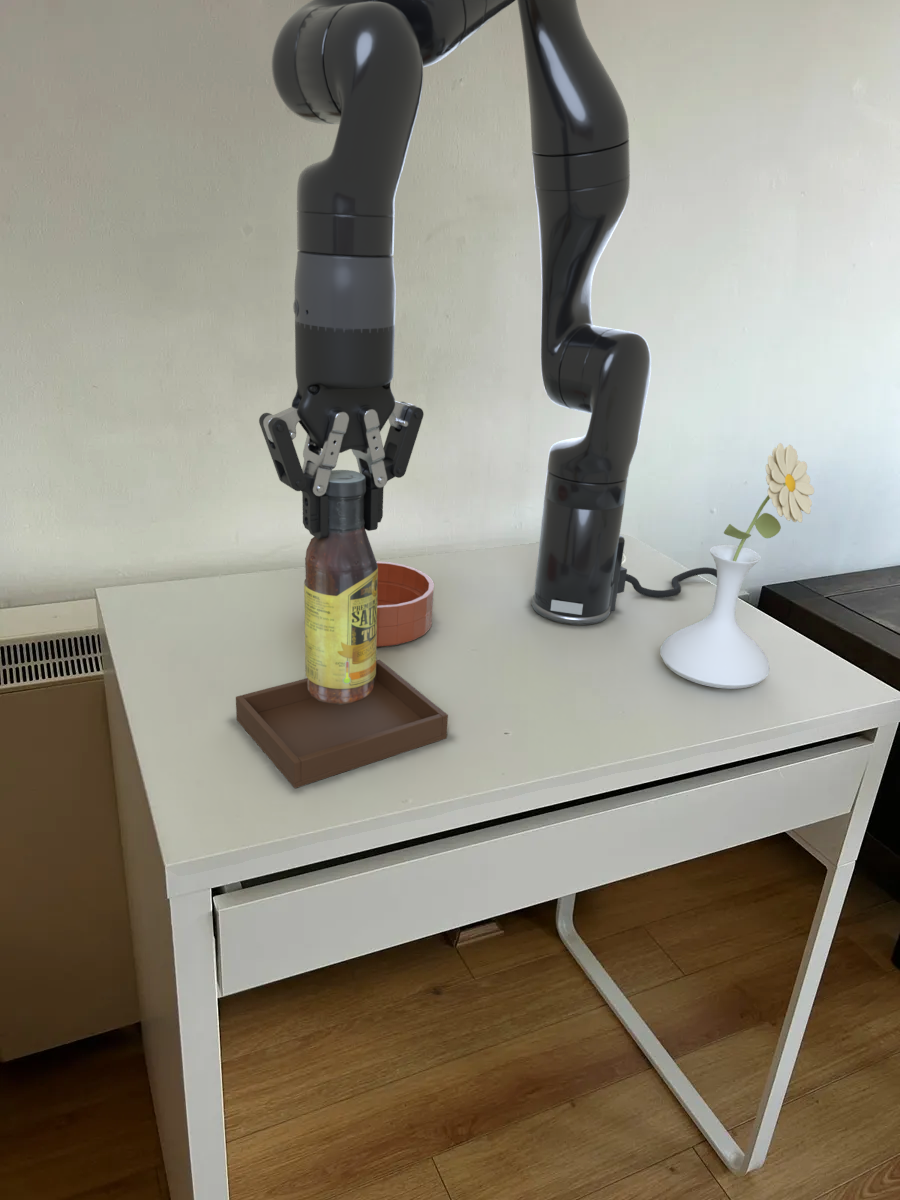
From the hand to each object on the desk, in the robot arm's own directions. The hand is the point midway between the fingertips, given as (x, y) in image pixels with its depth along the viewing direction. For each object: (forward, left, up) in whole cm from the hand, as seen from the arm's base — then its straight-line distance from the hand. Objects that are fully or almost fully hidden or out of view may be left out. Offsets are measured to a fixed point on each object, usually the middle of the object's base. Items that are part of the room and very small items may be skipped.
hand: (343, 530), depth 75 cm
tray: (0, 0, -19) cm, 19 cm away
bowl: (-14, -18, -19) cm, 30 cm away
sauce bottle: (0, 0, -15) cm, 15 cm away
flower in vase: (-40, +10, -19) cm, 46 cm away
